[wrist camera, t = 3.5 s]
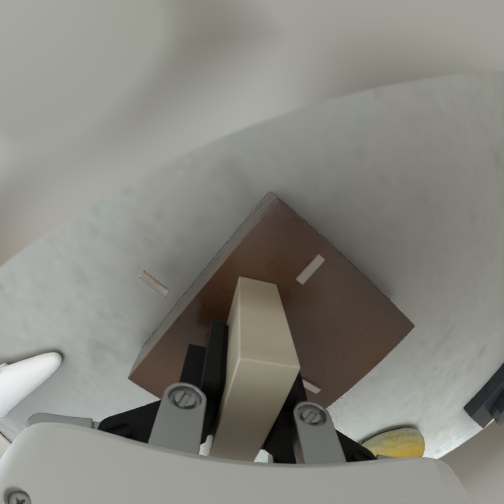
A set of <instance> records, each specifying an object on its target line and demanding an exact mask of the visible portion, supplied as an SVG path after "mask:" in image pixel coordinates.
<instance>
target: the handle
mask: <svg viewBox="0 0 504 504" xmlns="http://www.w3.org/2000/svg"><path fill="white" fill-rule="evenodd" d="M227 325H229V330H228V347H227V364H226V381H225V387H224V391H223V395H222V398H221V401H220V405H219V408H218V412H217V415H216V418H215V422H214V425H213V428H212V432H211V435H208V437H207V440H206V442H205V444H204V454H203V456H209V457H216V458H223V459H231V460H239V461H249V462H254V460H255V458H256V456H257V454H258V453H259V451H260V449H261V447H262V445H263V443H264V442H265V440H266V438H267V436H268V434H269V432H270V430H271V428H272V426H273V424H274V422H275V420H276V418H277V416H278V414H279V412H280V410H281V408H282V406H283V404H284V402H285V400H286V398H287V396H288V394H289V392H290V390H291V388H292V385H293V383H294V381H295V379H296V377H297V375H298V372H299V370H300V364H299V360H298V357H297V353H296V350H295V346H294V343H293V340H292V336H291V333H290V329H289V326H288V322H287V319H286V316H285V312H284V309H283V305H282V302H281V299H280V295H279V292H278V289H277V285H276V284H272V283H268V282H263V281H259V280H254V279H250V278H246V277H241V276H240V277H239V279H238V283H237V286H236V290H235V294H234V298H233V302H232V306H231V310H230V313H229V317H228V321H227Z"/></svg>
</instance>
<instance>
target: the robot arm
mask: <svg viewBox="0 0 504 504" xmlns="http://www.w3.org/2000/svg"><path fill="white" fill-rule="evenodd" d="M228 330H229V325H225V321H221V320H216V319H212V322H211V327H210V331H209V336H208V341H207V345H206V347H202V346H198V345H193V344H189V345H188V349H187V353H186V357H185V361H184V365H183V369H182V372H181V376H180V381H179V383H174V384H171V385H170V386H168V387H167V388H166V390H165V391H164V394H163V397H162V400H159V401H156V402H153V403H150V404H147V405H145V406H142V407H139V408H136V409H133V410H129V411H126V412H123V413H120V414H117V415H113V416H110V417H108V418H105V419H104V420H103V421H101V422H93V420H92V419H91V418H80V417H70V416H62V415H55V414H48V413H37V414H34V415H32V416H31V417H30V418H29V419H28V422H27V426H26V428H25V429H24V430H23V431H22V432H21V433H20V434H19V435H18V436H17V437H16V438H15V439H14V440H13V442H12V443H11V444H10V446H9V447H8V449H7V450H6V451H5V453H4V454H3V456H2V458H1V459H0V504H472V502H471V500H470V498H469V496H468V494H467V493H466V491H465V489H464V487H463V485H462V484H461V482H460V480H459V479H458V477H457V476H456V474H455V473H454V472H453V470H452V469H451V468H450V467H449V466H448V465H447V464H446V463H444V462H443V461H440V460H437V459H433V458H427V457H399V458H397V457H391V456H385V455H380V454H377V455H376V456H374V454H373V453H372V452H371V451H370V450H368V449H367V448H365V447H364V446H362V445H360V444H358V443H357V442H355V441H353V440H352V439H350V438H349V437H347V436H345V435H344V434H342V433H340V432H339V431H337V430H336V429H335V428H334V425H333V422H332V419H331V417H330V414H329V412H328V411H327V410H326V409H325V408H324V407H323V406H322V405H320V404H318V403H315V402H311V401H308V399H307V395H306V392H305V388H304V384H303V381H302V377H301V373H300V370H299V372H298V375H297V377H296V379H295V381H294V383H293V385H292V388H291V390H290V392H289V394H288V396H287V398H286V400H285V402H284V404H283V406H282V408H281V410H280V412H279V414H278V416H277V418H276V420H275V422H274V424H273V426H272V428H271V430H270V432H269V434H268V436H267V438H266V440H265V442H264V443H263V445H262V447H261V449H263V450H266V451H267V452H268V453H269V454H268V463H262V462H249V461H239V460H231V459H223V458H216V457H209V456H203V455H199V450H200V445H201V444H203V443H205V442H206V440H207V437H208V435H211V432H212V428H213V425H214V422H215V418H216V415H217V412H218V408H219V405H220V401H221V398H222V395H223V391H224V387H225V381H226V364H227V347H228Z"/></svg>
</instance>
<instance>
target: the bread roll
mask: <svg viewBox="0 0 504 504" xmlns="http://www.w3.org/2000/svg"><path fill="white" fill-rule="evenodd" d="M362 446H364V447H365V448H367V449H368V450H370V451H371V452H372V453H373V454H374V456H376V455H377V454H380V455H385V456H391V457H397V458H399V457H422V456H423V453H424V449H425V443H424V438H423V436H422V434H421V433H420V432H419V431H418V430H416V429H413V428H402V429H397V430H392V431H388V432H385V433H382V434H379V435H377V436H375V437H373V438H371V439H370V440H368V441H366V442H364V443H363V444H362Z"/></svg>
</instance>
